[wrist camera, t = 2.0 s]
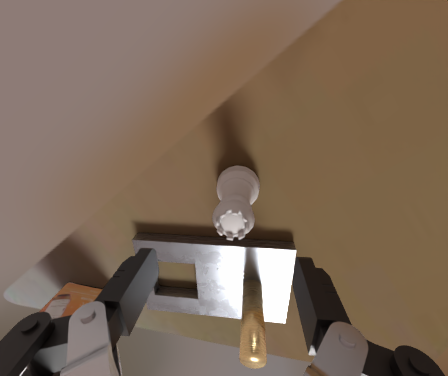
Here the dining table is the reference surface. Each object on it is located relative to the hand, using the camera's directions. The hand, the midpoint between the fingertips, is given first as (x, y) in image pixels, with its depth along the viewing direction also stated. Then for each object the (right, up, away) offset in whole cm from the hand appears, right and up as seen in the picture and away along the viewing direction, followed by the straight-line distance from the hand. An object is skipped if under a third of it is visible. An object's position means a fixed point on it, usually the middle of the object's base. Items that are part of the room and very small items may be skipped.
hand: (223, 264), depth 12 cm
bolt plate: (-1, -7, +16) cm, 18 cm away
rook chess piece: (+2, +5, +11) cm, 12 cm away
